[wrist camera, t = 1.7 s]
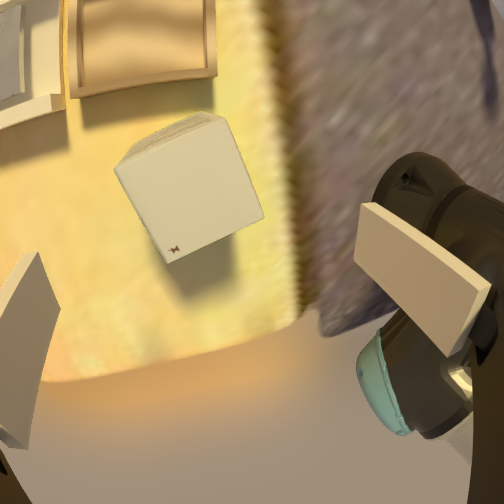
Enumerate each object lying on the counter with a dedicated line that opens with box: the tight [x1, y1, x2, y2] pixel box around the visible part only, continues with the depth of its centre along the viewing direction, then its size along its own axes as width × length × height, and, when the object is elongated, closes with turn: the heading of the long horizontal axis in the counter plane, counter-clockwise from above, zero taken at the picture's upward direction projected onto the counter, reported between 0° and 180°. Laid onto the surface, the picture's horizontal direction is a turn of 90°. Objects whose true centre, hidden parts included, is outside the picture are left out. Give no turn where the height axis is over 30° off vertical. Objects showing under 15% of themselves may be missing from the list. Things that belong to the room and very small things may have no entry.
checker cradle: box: [0, 0, 66, 130], centre depth 16 cm, size 14×12×5 cm
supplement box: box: [114, 111, 264, 264], centre depth 23 cm, size 7×7×13 cm
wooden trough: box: [68, 0, 218, 99], centre depth 20 cm, size 13×13×3 cm
